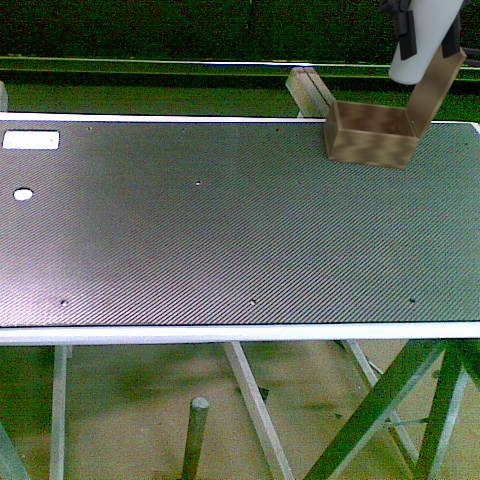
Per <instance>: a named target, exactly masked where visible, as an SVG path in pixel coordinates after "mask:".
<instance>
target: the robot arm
mask: <svg viewBox="0 0 480 480" xmlns="http://www.w3.org/2000/svg"><path fill="white" fill-rule="evenodd" d="M471 3H472V0H464V1H463V3H462V5H461V7H460V9H459V11H458V13H457V15H456V17H455V19H454V21H453V23H452V25H451V26H450V28H449V30H448V32H447V33H446V35H445V37H444V39H443V41H442V42H441V45H442V55H443V58H448V57H450V56H452V55H454V54H456V53H458V52H460V47H461V44H460V33H459V32H461V30H462V24H461V23H462V22H461V14H460V11H461V10H462V9H463V8H465V7H467V6H468V5H470V4H471ZM409 5H410V0H378V10H379V13H380V14H381V15H386V14H387V15H386V18H387V19H388V21H392V23H393V33H394V34H393V35H394V36H395V38H398V42H399V47H400V57H401V61H404V60H407V59H409V58H411V57H412V56H414V55H416V54H417V45H416V35H415V26H414V16H413V10H411V11H408V9H409Z"/></svg>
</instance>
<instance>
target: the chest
mask: <svg viewBox="0 0 480 480" xmlns="http://www.w3.org/2000/svg"><path fill="white" fill-rule="evenodd" d="M322 130H323V136H324V137H323V138H324V142H325V149H326V156H327V161H330V162H331V161H332V162H340V163H347V164H358V165H365V166H373V167H380V168H388V169H389V168H390V169H396V170H406V169H407V166H408V164H409V162H410V160H411V158H412V156H413V154H414V153H415V151H416V148H417V146H418V144H419V143H420V141H421V139H420V137H419V136H418V133H417V131H416V128H415V126H414V124H413V121H412V119H411V116H410V114H409V112H408V109H407V107H402V106H394V105H393V106H392V105H383V104H375V103H367V102H358V101H348V100H341V99H340V100H339V99H332V100H331V103H330V106H329V110H328V111H327V115H326V119H325V121H324V124H323V128H322Z"/></svg>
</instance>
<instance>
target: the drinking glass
mask: <svg viewBox="0 0 480 480" xmlns="http://www.w3.org/2000/svg"><path fill="white" fill-rule="evenodd" d="M463 1H464V0H411V1H410V2H409V5H408V8H407V11H411V10H413V16H414V26H415V35H416V45H417V54H416V55H414V56H412V57H411V58H409V59H407V60H404V61H401V57H400V47H399V41H398V43H397V45H396V49H395V52H394V55H393V58H392V61H391V63H390V66H389V69H388V72H387V73H388V77H389V78H390V79H391V80H392V81H394V82H395V83H398V84H402V85H409V86H411V85H416V84H417V83H419V82H420V81H421V80H422V78H423V76H424V73H425V71H426V69H427V67H428V66H429V64H430V62H431V60H432V58H433V57H434V55H435V53H436V51H437V49H438V48H439V46H440V44H441V42H442V41H443V39H444V37H445V35H446V33H447V32H448V30H449V28H450V26H451V25H452V23H453V21H454V19H455V17H456V15H457V13H458V11H459V9H460V7H461V5H462V3H463ZM460 10H461V9H460Z"/></svg>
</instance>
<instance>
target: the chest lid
mask: <svg viewBox="0 0 480 480" xmlns="http://www.w3.org/2000/svg"><path fill="white" fill-rule="evenodd" d="M467 54H468V55H476V56H480V49H477V48H470V47H464V46H463V47H461V46H460V52H458V53H456V54H454V55H452V56H450V57H448V58H443V55H442V45H441V44H440V46H439V48H438V49H437V51H436V53H435V55H434V57H433V58H432V60H431V62H430V64H429V66H428V67H427V69H426V71H425V73H424V76H423V78H422V80H421V81H420V82H419V83H417V84H415V86H414V89H413V90H412V92H411V95H410V97H409V99H408V101H407V103H406V105H405V108H407V110H408V112H409V115H410V117H411V120H412V122H413V124H414V127H415V129H416V132H417V134H418V136H419V139H420V138H421V139H423V138H424V137H425V135H426V133H427V131H428V130H429V127H430V125H431V124H432V122H433V120H434V118H435V117H436V114H437V112H438V111H439V109H440V107H441V105H442V104H443V102H444V99H445V98H446V96H447V94H448V92H449V90H450V88H451V86H452V85H453V83H454V81H455V79H456V77H457V75H458V73H459V72H460V70H461V68H462V66H463V65H464V66H470V67H471V66H472V67H480V60H475V59H467V57H468V56H467Z"/></svg>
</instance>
